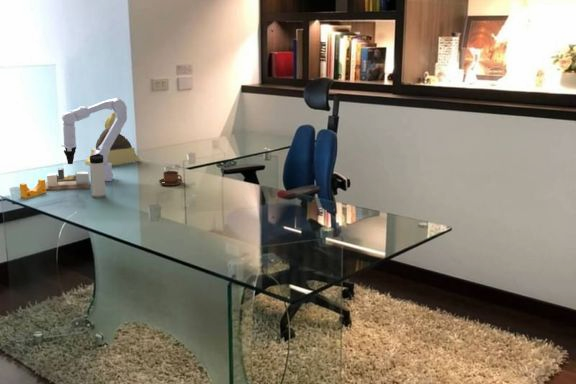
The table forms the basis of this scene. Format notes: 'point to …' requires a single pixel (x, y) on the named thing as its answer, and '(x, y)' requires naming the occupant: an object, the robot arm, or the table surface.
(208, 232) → the table surface
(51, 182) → the white square block
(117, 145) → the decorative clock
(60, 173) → the block with brass knob
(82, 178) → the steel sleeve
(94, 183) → the travel mug
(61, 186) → the walnut board
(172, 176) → the cup and saucer
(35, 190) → the yellow u-shaped block
